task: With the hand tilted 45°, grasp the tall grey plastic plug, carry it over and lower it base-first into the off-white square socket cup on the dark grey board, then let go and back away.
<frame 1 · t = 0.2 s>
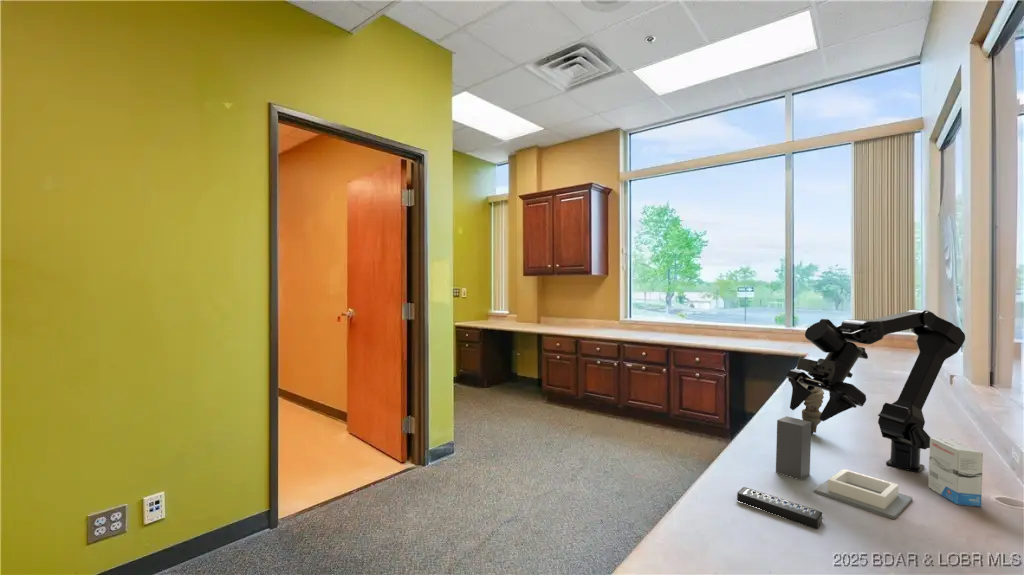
hand: (805, 414, 111), 14 cm above the countertop, tool tilted 35°, fingers open, 9 cm apart
ink box: (953, 497, 99), on the countertop
multiport hub: (777, 513, 91), on the countertop
plug: (792, 473, 110), on the countertop
socket board: (862, 495, 98), on the countertop
light bulb: (811, 434, 140), on the countertop
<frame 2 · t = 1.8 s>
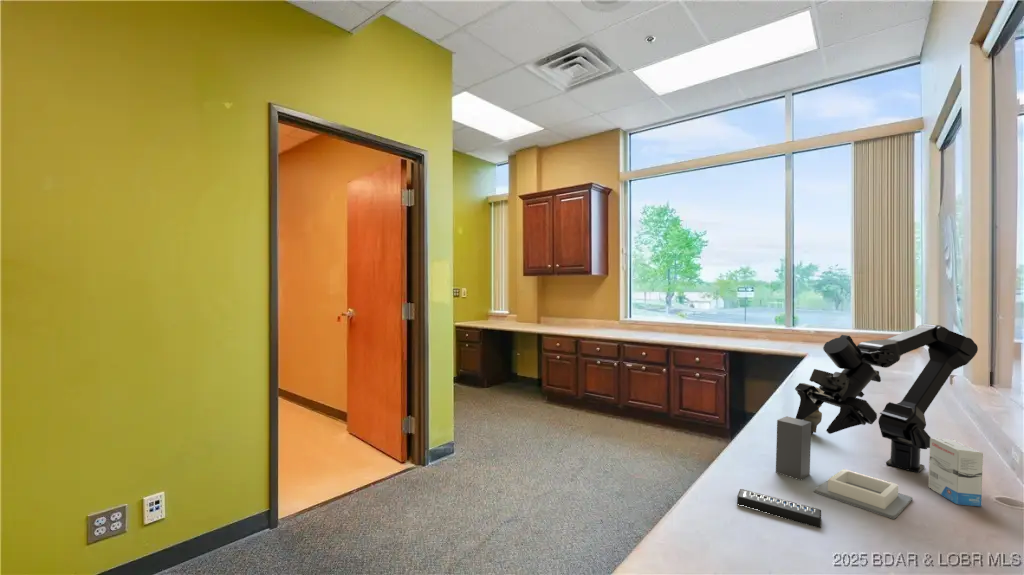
hand: (811, 426, 110), 11 cm above the countertop, tool tilted 45°, fingers open, 9 cm apart
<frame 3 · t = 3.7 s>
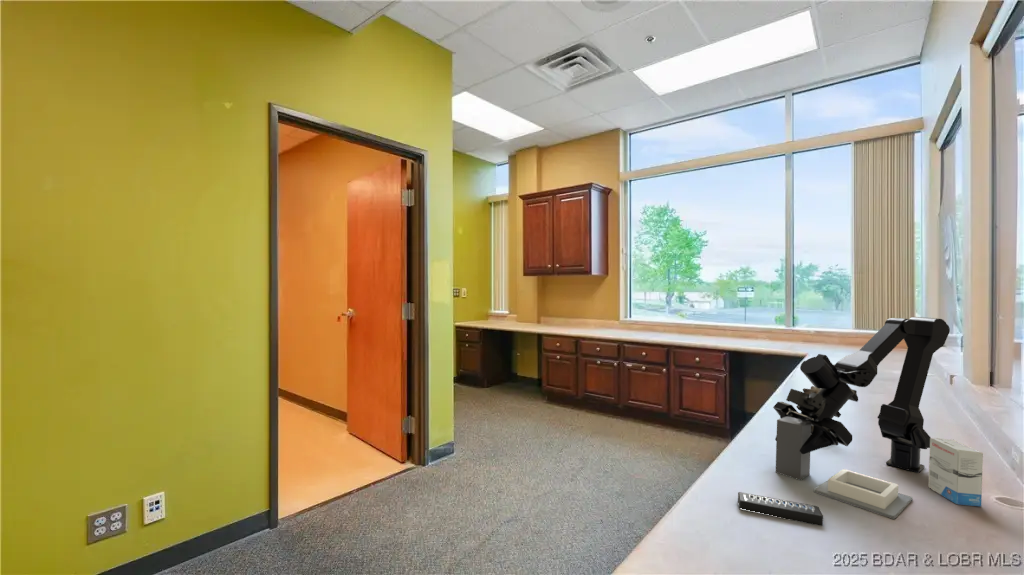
hand: (788, 446, 109), 7 cm above the countertop, tool tilted 45°, fingers closed on plug, 7 cm apart
plug: (792, 473, 110), on the countertop, touching gripper
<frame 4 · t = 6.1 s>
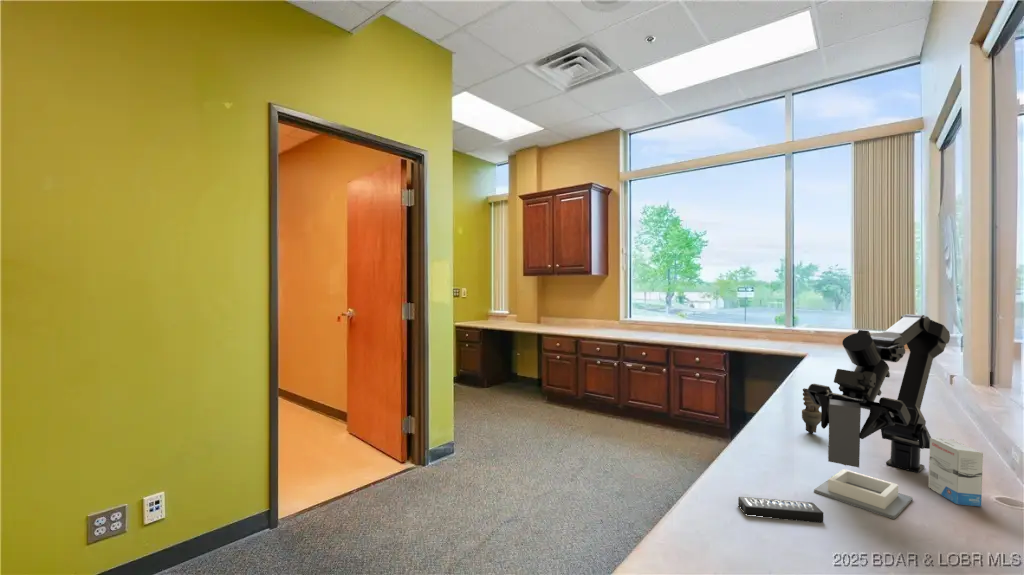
hand: (841, 432, 100), 13 cm above the countertop, tool tilted 45°, fingers closed on plug, 7 cm apart
plug: (843, 460, 101), point 7 cm above the countertop, touching gripper
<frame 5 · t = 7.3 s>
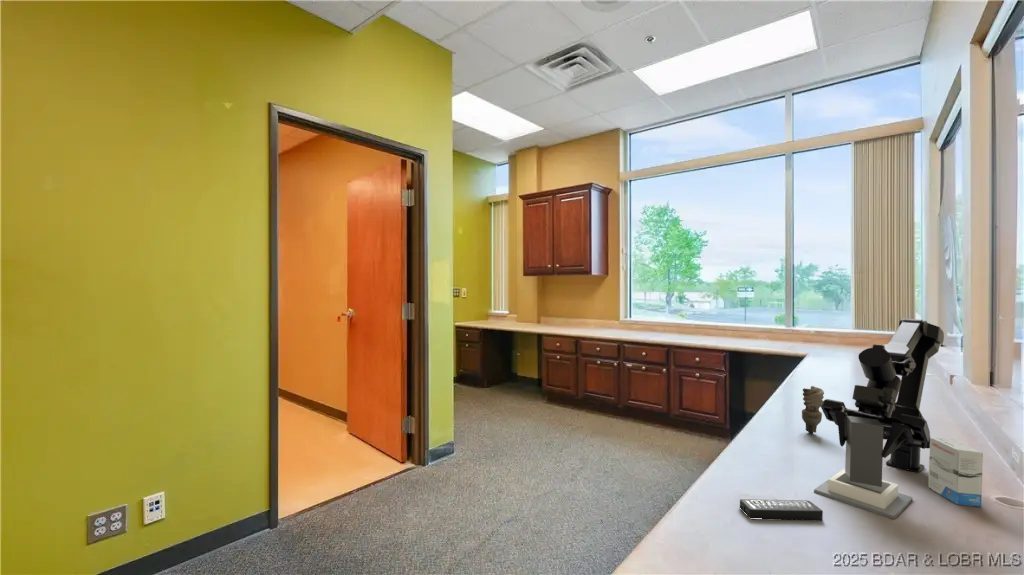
hand: (861, 450, 98), 10 cm above the countertop, tool tilted 45°, fingers closed on plug, 7 cm apart
plug: (862, 479, 98), point 4 cm above the countertop, touching gripper
when the fingers open (8 cm above the countertop, at t = 8.4 s): plug stays where it is, resting on socket board.
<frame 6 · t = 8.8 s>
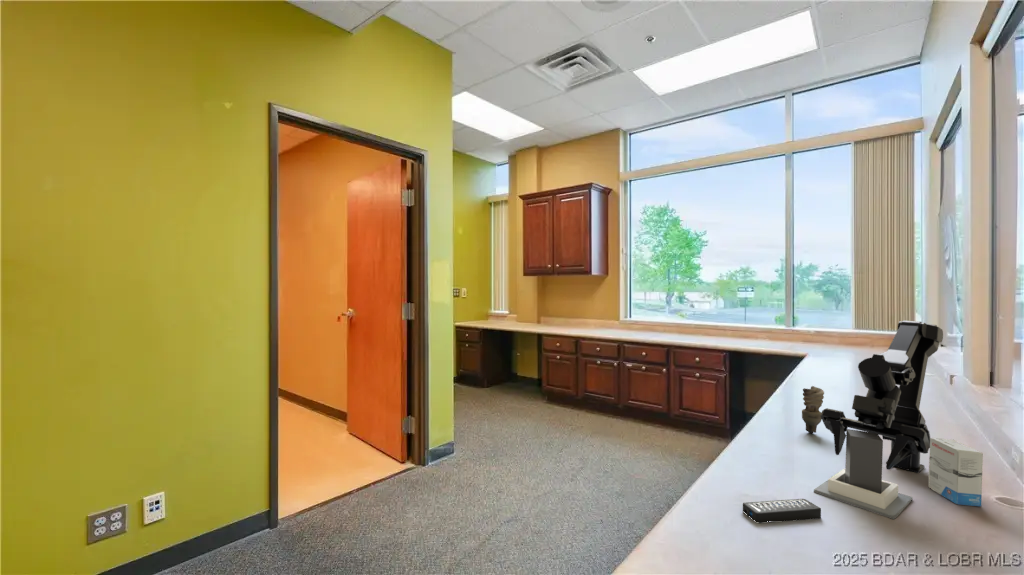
hand: (861, 461, 98), 8 cm above the countertop, tool tilted 45°, fingers open, 9 cm apart
plug: (862, 492, 98), point 1 cm above the countertop, touching socket board
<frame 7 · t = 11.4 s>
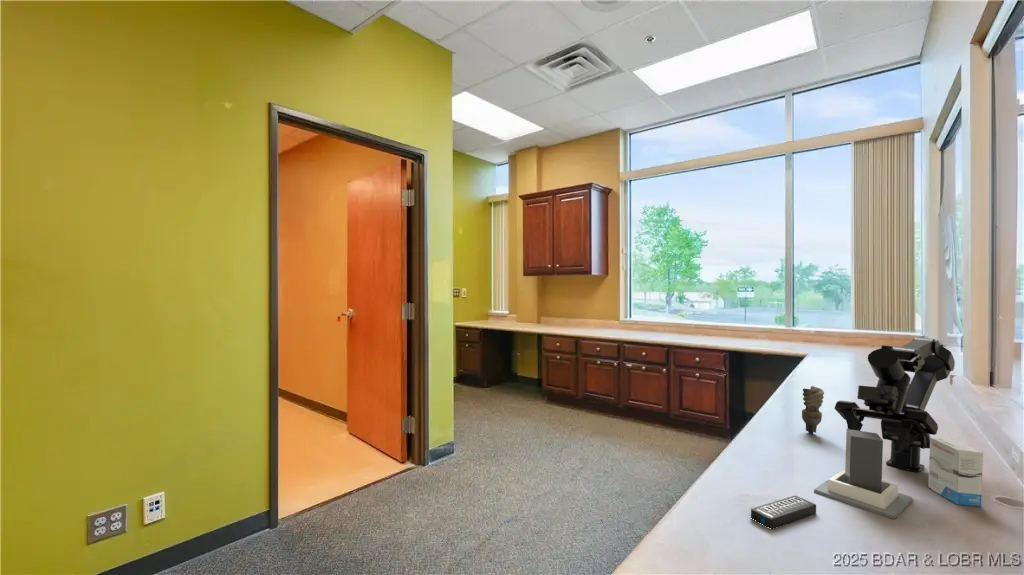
hand: (873, 447, 104), 9 cm above the countertop, tool tilted 40°, fingers open, 9 cm apart
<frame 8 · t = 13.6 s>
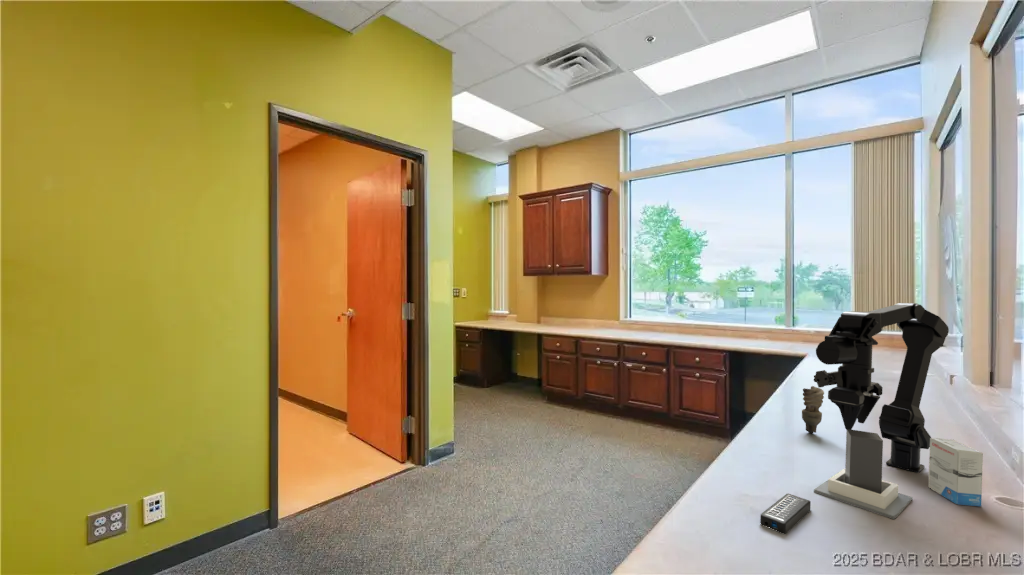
hand: (854, 426, 109), 12 cm above the countertop, tool pointing down, fingers open, 9 cm apart
at the end: plug 0.1 cm off-centre on the socket board, point 0.6 cm above the socket board's base; plug tilted 0°; the gripper is holding nothing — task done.
